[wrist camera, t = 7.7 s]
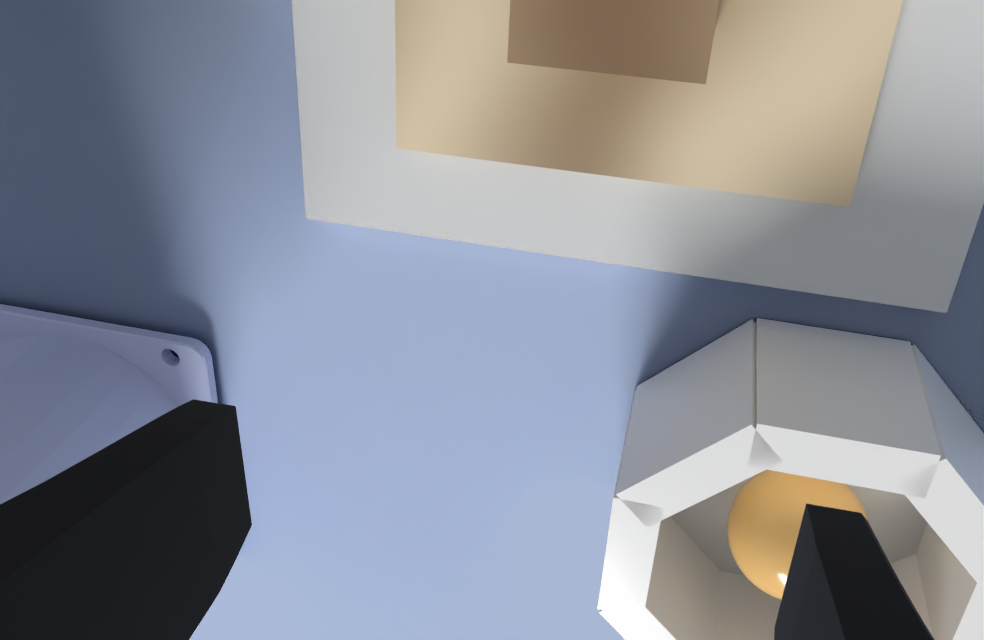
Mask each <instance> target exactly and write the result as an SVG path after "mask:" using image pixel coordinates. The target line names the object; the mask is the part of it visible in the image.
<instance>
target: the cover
mask: <svg viewBox="0 0 984 640" xmlns="http://www.w3.org/2000/svg"><path fill="white" fill-rule="evenodd" d="M902 3H903V0H395V45H396V140H397V149H404V150H412V151H419V152H427V153H435V154H442V155H450V156H458V157H466V158H473V159H481V160H489V161H496V162H504V163H512V164H520V165H527V166H535V167H543V168H550V169H558V170H566V171H574V172H581V173H589V174H597V175H604V176H612V177H620V178H627V179H635V180H643V181H651V182H658V183H666V184H674V185H681V186H689V187H697V188H705V189H712V190H720V191H728V192H735V193H743V194H751V195H759V196H766V197H774V198H782V199H789V200H797V201H805V202H813V203H820V204H828V205H836V206H843V207H850V204H851V200H852V196H853V192H854V189H855V185H856V181H857V177H858V173H859V169H860V165H861V161H862V158H863V154H864V150H865V146H866V142H867V138H868V134H869V131H870V127H871V123H872V119H873V115H874V111H875V107H876V103H877V100H878V96H879V92H880V88H881V84H882V80H883V76H884V72H885V69H886V65H887V61H888V57H889V53H890V49H891V45H892V42H893V38H894V34H895V30H896V26H897V22H898V18H899V14H900V11H901V7H902Z"/></svg>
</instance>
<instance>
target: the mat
mask: <svg viewBox="0 0 984 640" xmlns="http://www.w3.org/2000/svg"><path fill="white" fill-rule="evenodd" d="M292 12H293V28H294V43H295V59H296V74H297V90H298V105H299V121H300V136H301V151H302V167H303V182H304V198H305V213H306V219H311V220H318V221H325V222H332V223H338V224H345V225H352V226H359V227H366V228H372V229H379V230H386V231H393V232H399V233H406V234H413V235H420V236H427V237H433V238H440V239H447V240H454V241H461V242H467V243H474V244H481V245H488V246H494V247H501V248H508V249H515V250H522V251H528V252H535V253H542V254H549V255H556V256H562V257H569V258H576V259H583V260H589V261H596V262H603V263H610V264H617V265H623V266H630V267H637V268H644V269H651V270H657V271H664V272H671V273H678V274H684V275H691V276H698V277H705V278H712V279H718V280H725V281H732V282H739V283H746V284H752V285H759V286H766V287H773V288H779V289H786V290H793V291H800V292H807V293H813V294H820V295H827V296H834V297H841V298H847V299H854V300H861V301H868V302H874V303H881V304H888V305H895V306H902V307H908V308H915V309H922V310H929V311H936V312H942V313H947V311H948V308H949V305H950V302H951V299H952V296H953V293H954V290H955V287H956V284H957V281H958V279H959V276H960V273H961V270H962V267H963V264H964V261H965V258H966V255H967V252H968V249H969V246H970V243H971V240H972V237H973V234H974V231H975V228H976V225H977V222H978V219H979V216H980V213H981V210H982V207H983V205H984V0H903V3H902V7H901V11H900V14H899V18H898V22H897V26H896V30H895V34H894V38H893V42H892V45H891V49H890V53H889V57H888V61H887V65H886V69H885V72H884V76H883V80H882V84H881V88H880V92H879V96H878V100H877V103H876V107H875V111H874V115H873V119H872V123H871V127H870V131H869V134H868V138H867V142H866V146H865V150H864V154H863V158H862V161H861V165H860V169H859V173H858V177H857V181H856V185H855V189H854V192H853V196H852V200H851V204H850V207H843V206H836V205H828V204H820V203H813V202H805V201H797V200H789V199H782V198H774V197H766V196H759V195H751V194H743V193H735V192H728V191H720V190H712V189H705V188H697V187H689V186H681V185H674V184H666V183H658V182H651V181H643V180H635V179H627V178H620V177H612V176H604V175H597V174H589V173H581V172H574V171H566V170H558V169H550V168H543V167H535V166H527V165H520V164H512V163H504V162H496V161H489V160H481V159H473V158H466V157H458V156H450V155H442V154H435V153H427V152H419V151H412V150H404V149H397V140H396V45H395V0H292Z"/></svg>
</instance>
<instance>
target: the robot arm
mask: <svg viewBox="0 0 984 640" xmlns="http://www.w3.org/2000/svg"><path fill="white" fill-rule="evenodd" d="M170 350H173V351H174V352H176V353H177V354H178V356H179V358H178V357H175V356H174V355H173V354H172V353H171V351H170ZM251 525H252V523H251V516H250V509H249V501H248V494H247V487H246V479H245V472H244V465H243V458H242V450H241V443H240V436H239V428H238V421H237V414H236V407H235V406H230V405H224V404H219V403H218V400H217V392H216V384H215V377H214V369H213V362H212V356H211V353H210V350H209V349H208V348H207V346H206V345H205V344H204V343H202V342H201V341H200V340H197V339H194V338H191V337H185V336H179V335H174V334H168V333H162V332H157V331H151V330H146V329H140V328H134V327H129V326H123V325H117V324H112V323H106V322H100V321H95V320H89V319H83V318H78V317H72V316H66V315H61V314H55V313H49V312H44V311H38V310H32V309H27V308H21V307H15V306H10V305H4V304H0V640H189V639H190V637H191V636H192V634H193V632H194V631H195V629H196V628H197V626H198V625H199V623H200V622H201V620H202V619H203V617H204V616H205V614H206V612H207V611H208V609H209V608H210V606H211V605H212V603H213V601H214V600H215V598H216V597H217V595H218V594H219V592H220V590H221V588H222V586H223V584H224V582H225V580H226V578H227V576H228V574H229V572H230V570H231V568H232V566H233V564H234V562H235V560H236V558H237V556H238V554H239V551H240V549H241V547H242V545H243V543H244V541H245V538H246V536H247V534H248V532H249V530H250V528H251ZM774 640H934V638H933V636H932V635H931V633H930V632H929V630H928V628H927V627H926V625H925V623H924V622H923V620H922V618H921V617H920V615H919V613H918V612H917V610H916V608H915V607H914V605H913V603H912V601H911V600H910V598H909V596H908V594H907V593H906V591H905V589H904V587H903V586H902V584H901V582H900V580H899V579H898V577H897V575H896V573H895V571H894V569H893V568H892V566H891V564H890V562H889V560H888V558H887V557H886V555H885V553H884V551H883V549H882V547H881V545H880V543H879V541H878V540H877V538H876V536H875V534H874V532H873V530H872V528H871V526H870V524H869V522H868V521H867V520H866V518H865V517H864V516H863V514H862V513H859V512H853V511H848V510H842V509H836V508H830V507H824V506H818V505H812V504H806V506H805V510H804V514H803V518H802V522H801V526H800V530H799V534H798V537H797V541H796V545H795V549H794V553H793V557H792V561H791V565H790V569H789V573H788V576H787V580H786V584H785V588H784V592H783V596H782V600H781V604H780V608H779V612H778V615H777V619H776V623H775V629H774Z"/></svg>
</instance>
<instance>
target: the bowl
mask: <svg viewBox="0 0 984 640" xmlns="http://www.w3.org/2000/svg"><path fill="white" fill-rule="evenodd" d="M806 504H812V505H818V506H824V507H830V508H836V509H842V510H848V511H853V512H859V513H862V514H863V516H864V517H865V518H866V520H867V521H868V522H869V524H870V526H871V528H872V530H873V532H874V534H875V536H876V538H877V540H878V541H879V543H880V545H881V547H882V549H883V551H884V553H885V555H886V557H887V558H888V560H889V562H890V564H891V566H892V568H893V569H894V571H895V573H896V575H897V577H898V579H899V580H900V582H901V584H902V586H903V587H904V589H905V591H906V593H907V594H908V596H909V598H910V600H911V601H912V603H913V605H914V607H915V608H916V610H917V612H918V613H919V615H920V617H921V618H922V620H923V622H924V623H925V625H926V627H927V628H928V630H929V632H930V633H931V635H932V636H933V638H934V640H984V433H983V432H982V430H981V429H980V428H979V427H978V425H977V424H976V423H975V421H974V420H973V419H972V418H971V416H970V415H969V414H968V412H967V411H966V410H965V409H964V407H963V406H962V405H961V403H960V402H959V401H958V399H957V398H956V397H955V396H954V394H953V393H952V392H951V390H950V389H949V388H948V387H947V385H946V384H945V383H944V381H943V380H942V379H941V378H940V376H939V375H938V374H937V372H936V371H935V370H934V368H933V367H932V366H931V365H930V363H929V362H928V361H927V359H926V358H925V357H924V356H923V354H922V353H921V352H920V350H919V349H918V348H917V346H916V345H915V344H913V345H911V343H910V341H903V340H897V339H890V338H884V337H877V336H871V335H864V334H858V333H851V332H845V331H838V330H832V329H825V328H819V327H812V326H806V325H799V324H793V323H786V322H780V321H773V320H767V319H760V318H757V321H756V323H755V322H754V320H753V319H751V320H750V321H748V322H746V323H744V324H743V325H741V326H739V327H738V328H736V329H734V330H732V331H731V332H729V333H727V334H725V335H724V336H722V337H720V338H719V339H717V340H715V341H713V342H712V343H710V344H708V345H707V346H705V347H703V348H701V349H700V350H698V351H696V352H695V353H693V354H691V355H689V356H688V357H686V358H684V359H682V360H681V361H679V362H677V363H676V364H674V365H672V366H670V367H669V368H667V369H665V370H664V371H662V372H660V373H658V374H657V375H655V376H653V377H652V378H650V379H648V380H646V381H645V382H643V383H641V384H640V385H638V386H637V389H635V392H634V397H633V402H632V407H631V412H630V417H629V422H628V427H627V432H626V437H625V442H624V447H623V452H622V457H621V462H620V467H619V472H618V477H617V482H616V487H615V492H614V497H613V504H612V511H611V518H610V525H609V532H608V539H607V546H606V553H605V560H604V567H603V574H602V581H601V588H600V595H599V602H598V609H599V613H600V614H601V615H602V616H603V617H604V618H605V619H606V620H607V621H608V622H609V623H610V624H611V625H612V626H613V627H614V628H615V629H616V630H617V631H618V632H619V633H620V634H621V635H622V636H623V637H624V638H625V639H626V640H774V629H775V623H776V619H777V615H778V612H779V608H780V604H781V600H782V596H783V592H784V588H785V584H786V580H787V576H788V573H789V569H790V565H791V561H792V557H793V553H794V549H795V545H796V541H797V537H798V534H799V530H800V526H801V522H802V518H803V514H804V510H805V506H806Z"/></svg>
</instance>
